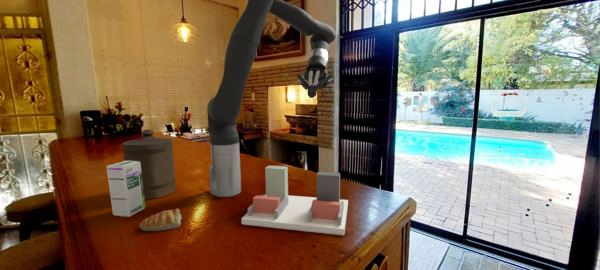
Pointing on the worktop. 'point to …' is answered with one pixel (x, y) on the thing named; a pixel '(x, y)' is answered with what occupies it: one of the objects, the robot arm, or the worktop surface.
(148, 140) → the grey canister
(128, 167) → the syrup box
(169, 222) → the pastry
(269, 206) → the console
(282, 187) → the pale green tall block
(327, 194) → the grey upright block
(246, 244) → the worktop surface
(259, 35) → the robot arm
